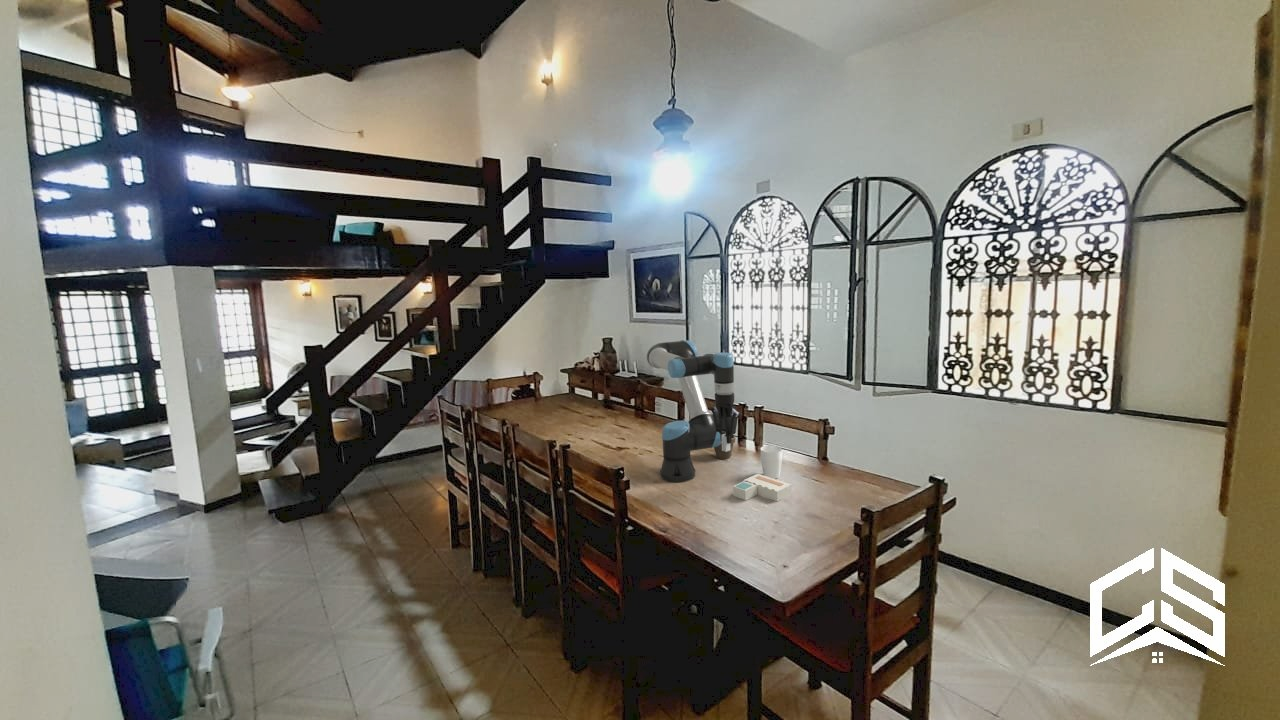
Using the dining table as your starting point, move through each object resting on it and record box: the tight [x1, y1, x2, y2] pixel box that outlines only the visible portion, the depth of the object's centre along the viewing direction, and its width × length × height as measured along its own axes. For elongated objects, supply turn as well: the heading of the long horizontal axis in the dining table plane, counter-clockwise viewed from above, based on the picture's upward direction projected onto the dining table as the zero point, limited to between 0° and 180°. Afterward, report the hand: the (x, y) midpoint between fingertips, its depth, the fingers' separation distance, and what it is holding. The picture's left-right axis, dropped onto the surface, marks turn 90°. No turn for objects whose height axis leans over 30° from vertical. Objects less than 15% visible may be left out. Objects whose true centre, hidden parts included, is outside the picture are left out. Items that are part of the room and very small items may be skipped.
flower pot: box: [713, 433, 736, 460], centre depth 246 cm, size 12×11×10 cm
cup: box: [759, 445, 783, 480], centre depth 220 cm, size 9×9×12 cm
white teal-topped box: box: [732, 481, 758, 501], centre depth 204 cm, size 6×7×4 cm
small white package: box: [742, 473, 792, 502], centre depth 206 cm, size 16×9×4 cm, turn 40°
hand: (726, 450), depth 208 cm, fingers closed
